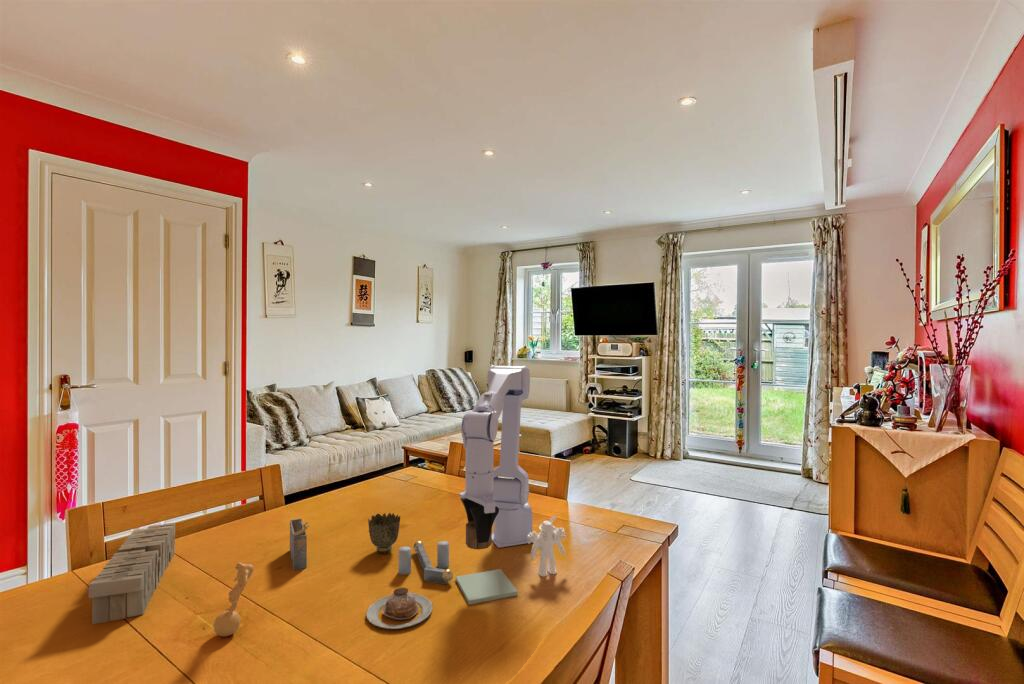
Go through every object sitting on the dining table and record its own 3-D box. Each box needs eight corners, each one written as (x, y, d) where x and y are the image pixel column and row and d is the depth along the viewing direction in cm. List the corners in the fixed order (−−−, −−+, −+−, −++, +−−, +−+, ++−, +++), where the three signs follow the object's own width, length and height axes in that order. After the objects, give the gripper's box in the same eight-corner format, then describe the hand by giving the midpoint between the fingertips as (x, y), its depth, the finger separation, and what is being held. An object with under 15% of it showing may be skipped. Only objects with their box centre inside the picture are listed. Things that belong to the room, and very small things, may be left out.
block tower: (135, 564, 113) (85, 630, 86) (135, 527, 113) (86, 581, 86) (176, 558, 116) (141, 620, 89) (176, 522, 116) (141, 573, 89)
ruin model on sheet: (308, 569, 109) (308, 525, 109) (293, 572, 108) (293, 528, 108) (303, 549, 119) (303, 509, 119) (289, 552, 118) (289, 511, 118)
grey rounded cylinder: (409, 568, 109) (409, 545, 109) (411, 573, 107) (411, 550, 107) (397, 570, 108) (397, 547, 108) (399, 575, 106) (399, 552, 106)
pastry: (400, 642, 84) (400, 615, 83) (352, 620, 90) (352, 595, 90) (445, 609, 94) (445, 585, 94) (399, 592, 100) (399, 569, 100)
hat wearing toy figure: (561, 565, 111) (561, 512, 111) (569, 573, 108) (570, 518, 107) (524, 572, 108) (524, 517, 108) (531, 580, 104) (532, 523, 104)
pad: (500, 572, 108) (500, 568, 108) (517, 595, 98) (517, 591, 98) (455, 580, 104) (455, 576, 104) (469, 604, 95) (469, 600, 95)
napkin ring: (486, 537, 104) (486, 518, 104) (494, 547, 100) (494, 527, 100) (463, 540, 103) (463, 521, 103) (470, 550, 98) (470, 530, 98)
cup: (391, 559, 113) (391, 525, 113) (362, 556, 115) (362, 522, 115) (405, 546, 121) (405, 513, 120) (377, 543, 122) (377, 511, 122)
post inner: (447, 562, 112) (447, 540, 112) (450, 567, 110) (450, 545, 110) (436, 564, 111) (436, 542, 111) (438, 569, 109) (438, 546, 109)
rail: (435, 548, 120) (435, 536, 119) (454, 584, 102) (454, 571, 102) (411, 551, 118) (411, 540, 117) (427, 589, 100) (427, 575, 100)
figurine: (214, 625, 87) (214, 557, 87) (252, 616, 90) (252, 550, 90) (212, 651, 80) (212, 578, 80) (254, 640, 83) (254, 569, 83)
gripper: (451, 463, 106) (451, 526, 107) (470, 482, 93) (469, 554, 93) (483, 460, 109) (482, 521, 109) (505, 478, 95) (505, 548, 96)
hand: (479, 536), depth 101 cm, fingers closed on napkin ring, 5 cm apart
